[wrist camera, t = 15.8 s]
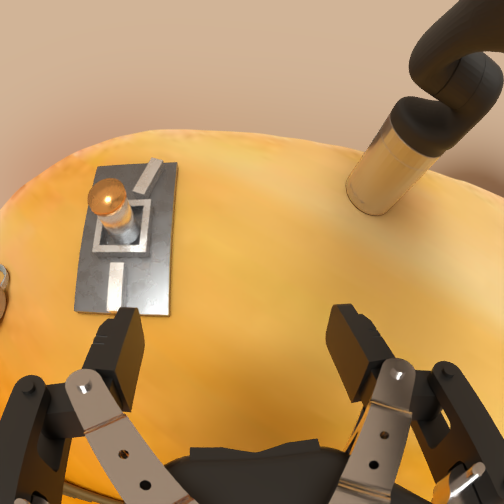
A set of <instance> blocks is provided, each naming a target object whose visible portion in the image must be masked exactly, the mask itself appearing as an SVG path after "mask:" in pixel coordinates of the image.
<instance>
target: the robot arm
mask: <svg viewBox="0 0 504 504" xmlns="http://www.w3.org/2000/svg"><path fill="white" fill-rule="evenodd" d="M483 51H491V52H502V53H504V0H459V1H458V2H457V3H456V4H455V5H454V6H453V7H452V8H451V9H450V10H449V11H447V12H446V13H445V14H444V15H443V16H442V17H441V18H440V19H439V20H438V21H437V22H435V23H434V24H433V25H432V26H431V27H430V28H429V29H428V30H427V31H426V32H425V34H424V35H423V36H422V37H421V38H420V40H419V41H418V43H417V44H416V46H415V48H414V49H413V51H412V54H411V57H410V60H409V73H410V76H411V78H412V80H413V81H414V82H415V83H416V84H417V85H418V86H419V87H420V88H421V89H423V90H424V91H425V92H427V93H428V94H430V95H431V96H433V97H434V98H436V99H438V100H439V101H432V100H427V99H423V98H418V97H413V96H412V97H411V96H408V97H404V98H401V99H400V100H399V101H398V102H397V103H396V105H395V106H394V108H393V109H392V111H391V113H390V114H389V116H388V117H387V119H386V120H385V122H384V124H383V125H382V127H381V129H380V130H379V132H378V133H377V135H376V136H375V138H374V139H373V141H372V143H371V144H370V145H369V147H368V149H367V150H366V152H365V153H364V155H363V156H362V158H361V159H360V161H359V162H358V164H357V165H356V167H355V168H354V170H353V171H352V173H351V174H350V176H349V177H348V179H347V182H346V190H347V194H348V196H349V198H350V200H351V201H352V203H353V204H354V205H355V206H356V207H357V208H358V209H360V210H361V211H363V212H365V213H367V214H370V215H382V214H384V213H386V212H387V211H388V210H389V209H390V208H391V207H392V206H393V205H394V204H395V203H396V202H397V201H398V200H399V199H400V198H401V197H402V196H403V195H404V194H405V193H406V192H407V191H408V190H409V189H410V188H411V187H412V186H413V185H414V184H415V183H416V182H417V181H418V180H419V179H420V178H421V177H422V176H423V175H424V174H425V173H426V171H427V170H428V169H429V168H430V167H431V166H432V165H433V164H434V163H435V162H436V161H437V160H438V159H439V157H440V156H441V155H442V154H443V153H444V152H445V151H446V150H448V149H450V148H452V147H453V146H454V145H456V144H457V143H458V141H460V140H461V139H462V138H463V137H464V136H465V135H466V134H467V133H468V131H470V130H471V129H472V128H473V127H474V126H475V125H476V124H477V123H478V122H479V121H480V120H481V119H482V118H483V117H484V116H485V115H486V114H487V113H488V112H489V110H490V109H491V108H492V107H493V105H494V104H495V103H496V101H497V99H498V98H499V95H500V93H501V91H502V87H503V82H504V79H503V73H502V70H501V68H500V67H499V66H498V65H497V64H496V63H495V62H494V61H493V60H492V59H491V58H490V57H488V56H487V55H486V54H485V53H483ZM326 345H327V348H328V350H329V352H330V355H331V357H332V359H333V361H334V364H335V366H336V368H337V370H338V373H339V375H340V377H341V379H342V382H343V384H344V386H345V389H346V391H347V393H348V396H349V398H350V400H351V403H354V402H359V401H362V403H363V407H362V409H361V411H360V414H359V416H358V419H357V421H356V424H355V426H354V428H353V431H352V433H351V435H350V438H349V440H348V442H347V444H346V446H345V448H344V450H343V451H340V450H337V449H333V448H329V447H321V446H319V442H318V439H311V440H304V441H297V442H289V443H285V444H282V445H279V446H276V447H273V448H270V449H267V450H264V451H261V452H256V453H254V452H246V451H240V450H234V449H228V448H223V447H215V448H198V447H190V455H189V456H184V457H181V458H178V459H175V460H173V461H171V462H169V463H167V464H165V465H164V466H163V464H162V463H161V462H160V461H159V459H158V458H157V457H156V456H155V454H154V453H153V452H152V450H151V449H150V448H149V446H148V445H147V444H146V442H145V441H144V440H143V438H142V437H141V435H140V434H139V433H138V431H137V430H136V428H135V427H134V425H133V424H132V423H131V421H130V420H129V418H128V417H127V415H126V414H123V412H131V409H132V404H133V399H134V394H135V389H136V384H137V380H138V375H139V371H140V366H141V362H142V358H143V353H144V346H145V342H144V334H143V329H142V324H141V319H140V314H139V310H138V308H137V307H119V309H118V311H117V313H116V316H115V318H114V319H107V320H106V321H105V322H104V323H103V324H102V325H100V327H99V329H98V331H97V334H96V337H95V338H94V341H93V344H92V345H91V348H90V350H89V352H88V355H87V357H86V360H85V362H84V364H83V367H82V369H81V370H77V371H75V372H73V373H72V374H71V375H70V376H69V377H68V378H67V380H66V382H65V383H59V384H51V385H45V383H44V381H43V380H42V379H41V378H40V377H38V376H35V375H28V376H25V377H23V378H21V379H20V380H19V381H18V382H17V383H16V384H15V386H14V388H13V390H12V393H11V395H10V397H9V400H8V402H7V405H6V407H5V410H4V412H3V415H2V418H1V420H0V504H61V500H62V493H63V485H64V479H65V472H66V467H67V461H68V456H69V450H70V445H71V440H72V438H74V437H82V436H86V438H87V440H88V442H89V444H90V446H91V448H92V450H93V451H94V453H95V455H96V457H97V459H98V460H99V462H100V464H101V466H102V467H103V469H104V471H105V472H106V474H107V476H108V477H109V479H110V480H111V482H112V484H113V485H114V487H115V488H116V490H117V491H118V493H119V494H120V496H121V497H122V499H123V500H124V502H123V503H122V504H504V439H503V437H502V435H501V434H500V432H499V430H498V429H497V427H496V425H495V423H494V422H493V420H492V418H491V417H490V415H489V413H488V412H487V410H486V409H485V407H484V405H483V404H482V402H481V401H480V399H479V398H478V396H477V394H476V393H475V391H474V390H473V388H472V387H471V385H470V384H469V382H468V381H467V379H466V378H465V376H464V375H463V373H462V372H461V370H460V369H459V368H458V367H457V366H456V365H454V364H453V363H450V362H447V361H440V362H438V363H436V364H435V365H434V367H433V369H432V371H421V370H415V369H414V367H413V366H412V365H411V364H410V363H409V362H407V361H405V360H403V359H400V358H395V356H394V355H393V353H392V352H391V350H390V349H389V347H388V346H387V344H386V342H385V341H384V339H383V338H382V337H381V335H380V333H379V332H378V330H376V327H375V326H374V324H373V323H372V321H371V320H369V319H368V318H367V317H365V316H364V315H363V314H358V313H357V311H356V310H355V308H354V307H353V305H352V304H336V305H333V307H332V309H331V314H330V318H329V322H328V326H327V331H326ZM442 409H443V410H444V412H445V413H446V415H447V417H448V419H449V421H450V425H451V427H450V429H449V427H448V425H447V423H446V421H445V419H444V417H443V415H442V413H441V411H442ZM122 411H123V412H122ZM410 425H411V427H412V429H413V431H414V434H415V436H416V438H417V440H418V443H419V445H420V447H421V449H422V452H423V454H424V457H425V459H426V461H427V464H428V466H429V468H430V471H431V473H432V476H433V478H434V481H435V483H436V485H435V487H434V490H433V498H432V500H431V502H429V501H427V500H425V499H423V498H421V497H420V496H418V495H416V494H414V493H412V492H410V491H408V490H407V489H405V488H403V487H401V486H400V485H398V484H396V483H394V481H395V478H396V475H397V472H398V469H399V466H400V462H401V459H402V455H403V452H404V448H405V444H406V441H407V437H408V433H409V428H410Z"/></svg>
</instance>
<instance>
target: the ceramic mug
mask: <svg viewBox="0 0 504 504" xmlns="http://www.w3.org/2000/svg"><path fill="white" fill-rule="evenodd" d="M0 271H2V272H3V274H4V275H5V276H4V279H3V281H2V282H1V284H0V319H1V317H2V316H3V313H4V311H5V306H6V296H5V293H4V291H3V290H4V289H5V287H6V286H7V283H8V281H9V275H8V272H7V270H6V268H5V267H4V266H3V265H1V264H0Z"/></svg>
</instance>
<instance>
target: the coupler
mask: <svg viewBox="0 0 504 504" xmlns="http://www.w3.org/2000/svg"><path fill="white" fill-rule="evenodd" d="M88 204H89V206H90V208H91V210H92V211H93V212H94V213H95V214H96V215H97V216H98V218H99V219H100V221H101V222H102V224H103V225H104V227H105V228H106V230H107V232H108V233H109V235H110V236H111V238H112V239H113V241H114V242H115V243H117V244H119V245H129V244H131V243H132V242H134V241H135V240H136V239H137V237H138V235H139V225H138V223H137V220H136V218H135V216H134V213H133V211H132V209H131V206H130V204H129V202H128V199H127V194H126V190H125V188H124V185H123V184H122V182H121V181H119V180H117V179H115V178H106V179H103V180H101V181H99V182H97V183H96V184H95V185H94V186H93V187H92V188H91V190H90V192H89V194H88Z"/></svg>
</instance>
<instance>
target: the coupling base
mask: <svg viewBox="0 0 504 504" xmlns="http://www.w3.org/2000/svg"><path fill="white" fill-rule="evenodd" d="M177 173H178V165H177V162H174V163H163V160H159V159H155V158H151V160H150V161H149V163H146V164H127V165H112V166H100V167H97V171H96V174H95V178H94V183H93V186H94V185H95V184H96V183H97V182H99V181H101V180H103V179H106V178H115V179H117V180H119V181H121V182H122V184H123V185H124V188H125V190H126V194H127V199H128V202H129V204H130V206H131V209H132V211H133V213H134V216H135V218H136V220H137V223H138V225H139V235H138V237H137V239H136V240H135V241H134V242H132V243H131V244H129V245H119V244H117V243H115V242H114V241H113V239H112V238H111V236H110V235H109V233H108V232H107V230H106V228H105V227H104V225H103V224H102V222H101V221H100V219H99V218H98V216H97V215H96V214H95V213H94V212H93V211H92V210H91V208H90V206H89V205H88V210H87V215H86V220H85V226H84V231H83V237H82V243H81V250H80V257H79V265H78V273H77V282H76V292H75V304H74V311H75V312H78V313H90V314H109V315H116V313H117V311H118V309H119V307H137V308H138V310H139V314H140V316H170V285H171V257H172V237H173V221H174V207H175V195H176V183H177Z"/></svg>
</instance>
